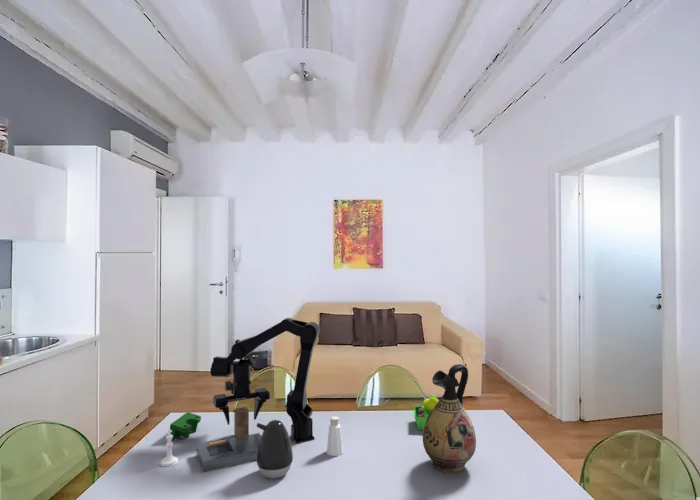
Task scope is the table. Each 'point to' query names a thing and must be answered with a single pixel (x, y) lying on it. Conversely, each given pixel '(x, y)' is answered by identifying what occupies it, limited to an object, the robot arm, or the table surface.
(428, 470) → the table surface
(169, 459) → the chess piece
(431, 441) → the ceramic jug
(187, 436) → the clamp
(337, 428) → the pepper shaker
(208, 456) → the grey peg hole board
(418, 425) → the fruit basket
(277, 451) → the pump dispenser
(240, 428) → the walnut peg
